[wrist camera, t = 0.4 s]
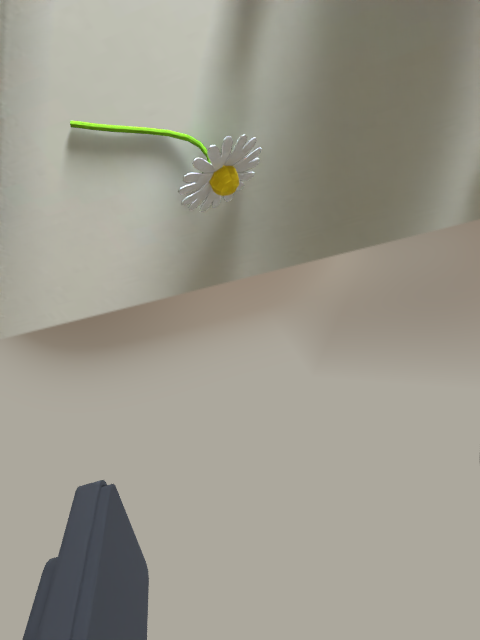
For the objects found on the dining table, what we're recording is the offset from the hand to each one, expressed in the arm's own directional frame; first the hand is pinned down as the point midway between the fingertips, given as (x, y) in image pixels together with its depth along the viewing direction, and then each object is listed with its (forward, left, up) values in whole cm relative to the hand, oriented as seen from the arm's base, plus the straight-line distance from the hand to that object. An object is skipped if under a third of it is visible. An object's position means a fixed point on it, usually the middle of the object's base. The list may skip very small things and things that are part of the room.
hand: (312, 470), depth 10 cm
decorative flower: (-7, -1, -30) cm, 31 cm away
